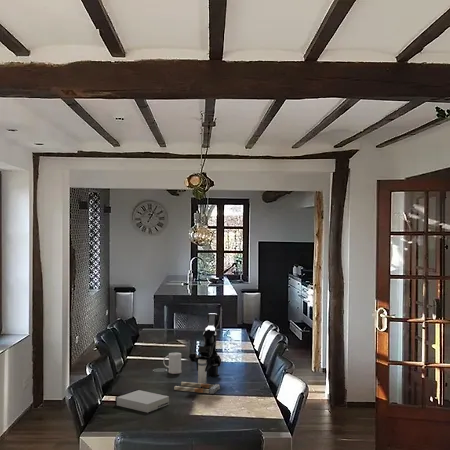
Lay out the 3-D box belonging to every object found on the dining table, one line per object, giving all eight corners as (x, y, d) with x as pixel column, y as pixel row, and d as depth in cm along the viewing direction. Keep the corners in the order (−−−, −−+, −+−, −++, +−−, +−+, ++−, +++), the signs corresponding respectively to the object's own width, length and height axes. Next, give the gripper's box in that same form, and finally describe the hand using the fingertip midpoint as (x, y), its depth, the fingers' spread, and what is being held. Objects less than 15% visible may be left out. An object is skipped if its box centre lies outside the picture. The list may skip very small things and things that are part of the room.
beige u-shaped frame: (174, 390, 343) (174, 385, 343) (181, 385, 353) (181, 380, 353) (213, 393, 335) (213, 389, 335) (219, 388, 346) (219, 384, 346)
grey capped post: (202, 380, 347) (202, 358, 347) (208, 382, 343) (208, 360, 343) (196, 382, 344) (196, 360, 344) (201, 384, 340) (201, 361, 340)
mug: (162, 373, 381) (162, 354, 381) (164, 370, 390) (164, 352, 390) (180, 373, 380) (180, 355, 380) (182, 370, 389) (182, 352, 389)
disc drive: (137, 398, 328) (137, 389, 328) (169, 405, 316) (169, 395, 316) (115, 406, 314) (115, 396, 314) (147, 413, 301) (147, 403, 301)
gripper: (190, 339, 350) (182, 362, 340) (219, 341, 344) (213, 364, 334) (195, 349, 357) (187, 372, 347) (224, 352, 351) (217, 375, 341)
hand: (201, 370), depth 342 cm, fingers closed on grey capped post, 5 cm apart
